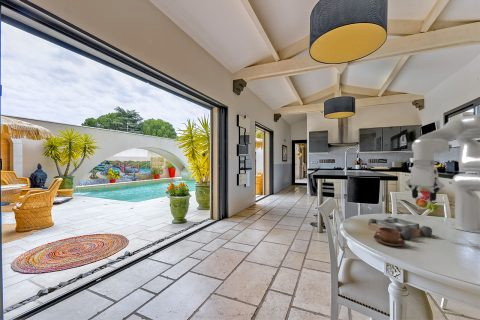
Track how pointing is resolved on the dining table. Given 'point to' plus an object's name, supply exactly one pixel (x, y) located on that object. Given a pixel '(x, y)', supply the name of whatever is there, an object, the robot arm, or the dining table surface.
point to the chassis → (401, 227)
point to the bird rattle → (422, 203)
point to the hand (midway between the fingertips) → (423, 199)
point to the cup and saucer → (389, 237)
